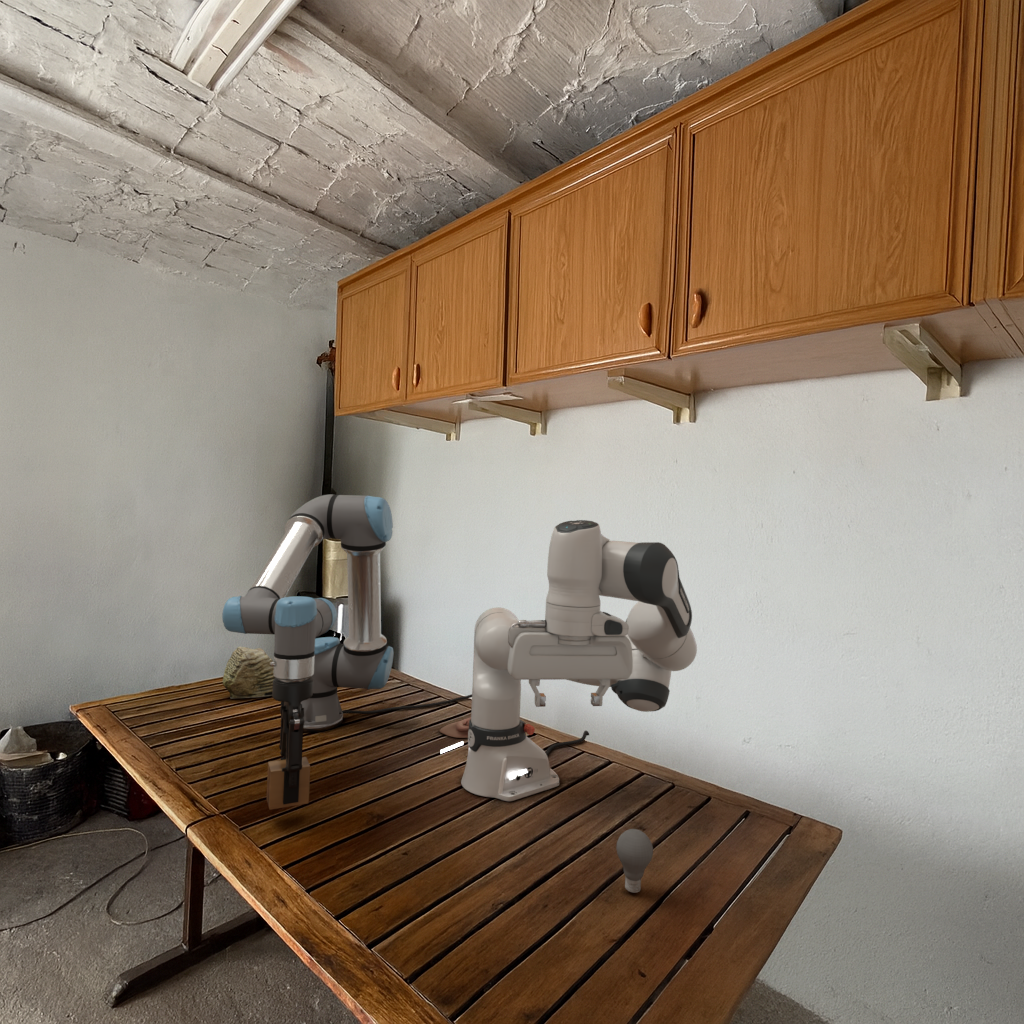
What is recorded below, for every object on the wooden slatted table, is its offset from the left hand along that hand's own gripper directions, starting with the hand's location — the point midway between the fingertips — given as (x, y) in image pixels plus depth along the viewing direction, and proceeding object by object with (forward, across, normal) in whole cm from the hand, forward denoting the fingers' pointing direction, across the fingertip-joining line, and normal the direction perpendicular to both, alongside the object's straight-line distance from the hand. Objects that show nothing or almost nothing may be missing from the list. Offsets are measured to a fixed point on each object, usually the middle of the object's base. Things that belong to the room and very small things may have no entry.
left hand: (288, 795), depth 124 cm
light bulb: (+5, +45, +49) cm, 67 cm away
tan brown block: (+1, 0, 0) cm, 1 cm away
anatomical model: (+4, -32, +51) cm, 60 cm away
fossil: (+4, -83, +1) cm, 83 cm away
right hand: (-27, +42, +37) cm, 62 cm away
